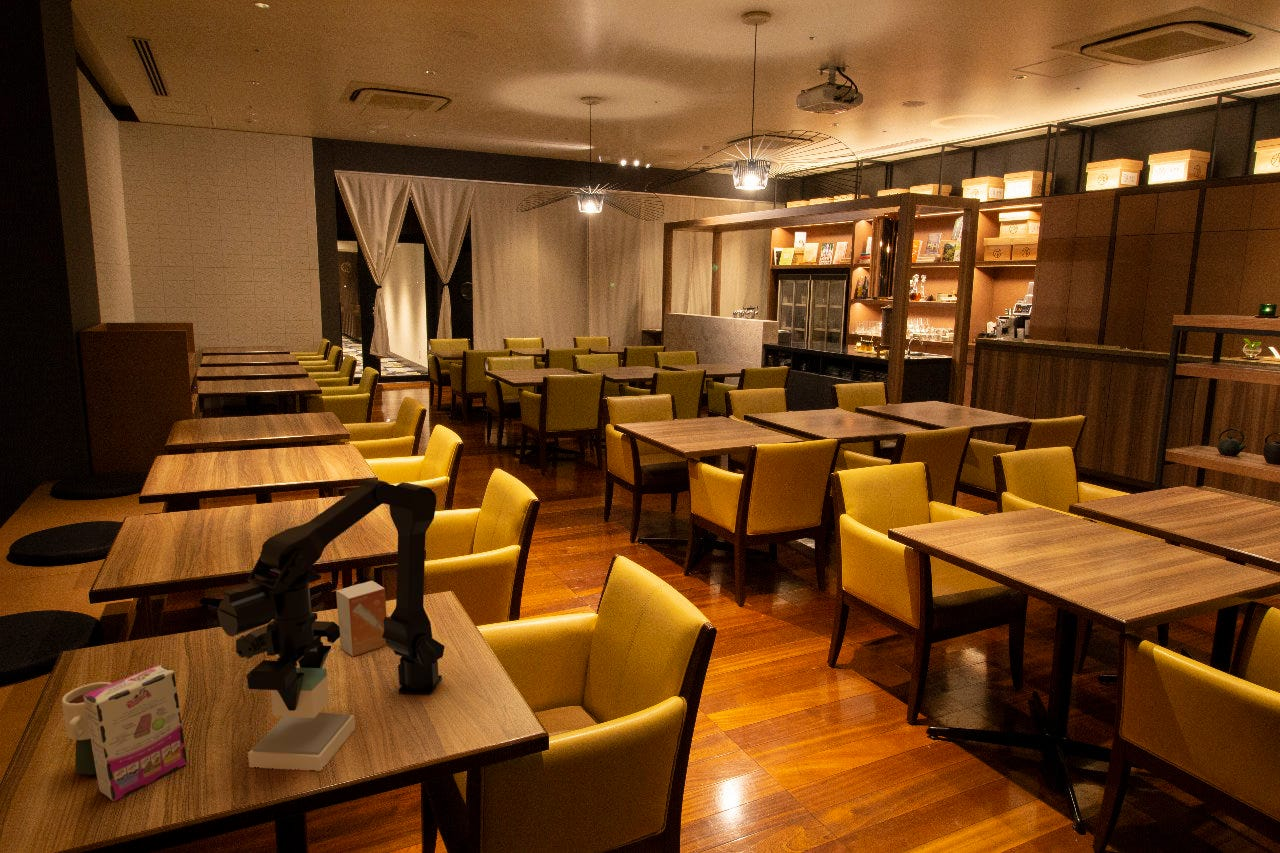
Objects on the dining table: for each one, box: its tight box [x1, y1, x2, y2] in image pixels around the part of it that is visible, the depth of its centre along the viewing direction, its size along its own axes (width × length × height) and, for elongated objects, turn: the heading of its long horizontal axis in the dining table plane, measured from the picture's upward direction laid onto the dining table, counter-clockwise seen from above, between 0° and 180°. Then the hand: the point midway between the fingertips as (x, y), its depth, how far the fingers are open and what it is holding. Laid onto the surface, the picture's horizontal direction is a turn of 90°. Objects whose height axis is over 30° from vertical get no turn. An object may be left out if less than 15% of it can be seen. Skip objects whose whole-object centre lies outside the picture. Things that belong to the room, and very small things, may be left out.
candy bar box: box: [83, 664, 188, 802], centre depth 120 cm, size 11×5×16 cm, turn 148°
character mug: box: [61, 681, 113, 776], centre depth 123 cm, size 11×7×13 cm, turn 8°
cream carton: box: [269, 666, 330, 718], centre depth 128 cm, size 5×7×6 cm
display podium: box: [247, 712, 356, 772], centre depth 129 cm, size 12×12×3 cm
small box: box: [335, 580, 388, 658], centre depth 164 cm, size 8×6×13 cm
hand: (300, 701), depth 128 cm, fingers closed on cream carton, 5 cm apart
